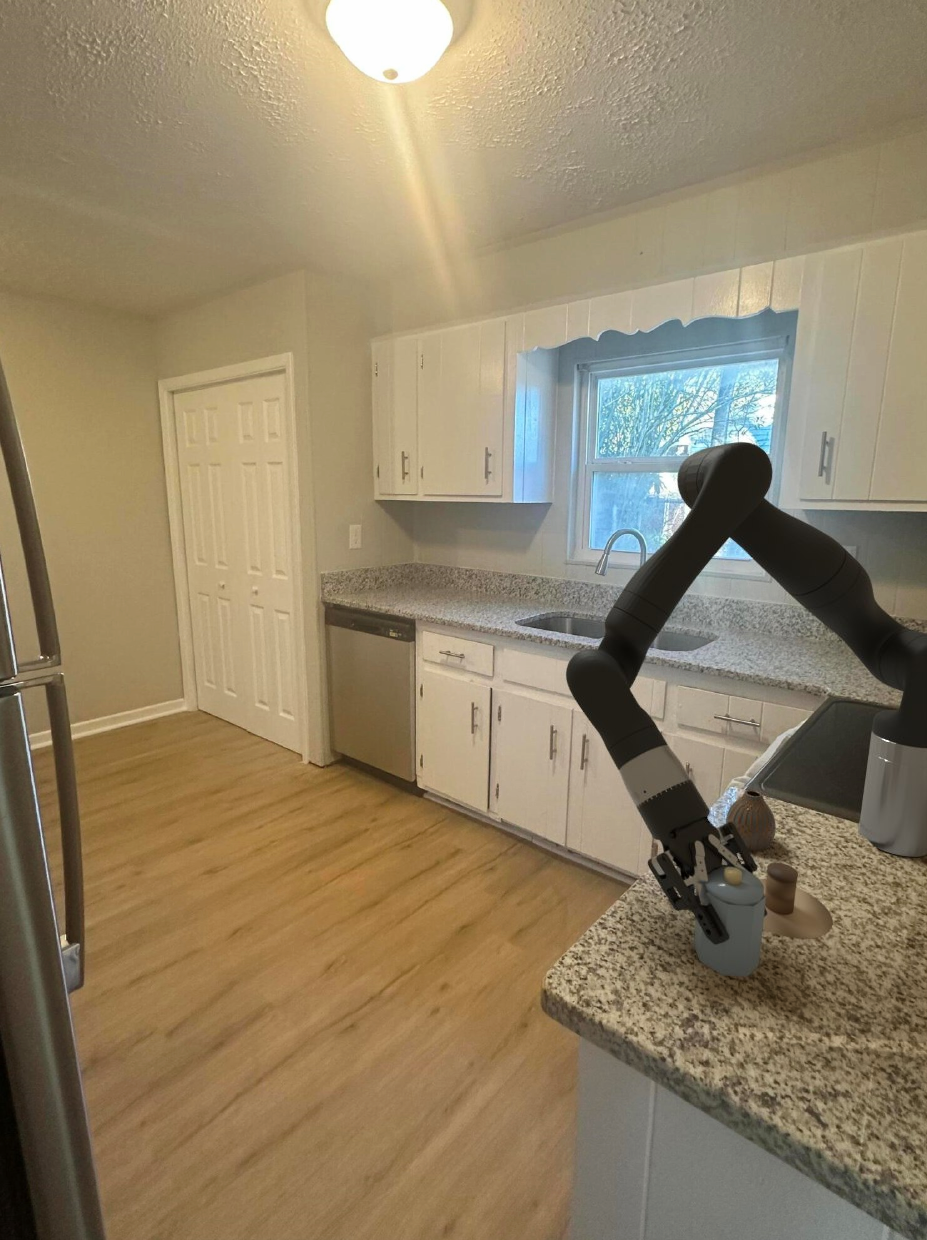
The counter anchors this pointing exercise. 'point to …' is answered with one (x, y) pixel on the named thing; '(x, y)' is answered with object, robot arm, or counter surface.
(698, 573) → the robot arm
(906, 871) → the counter surface
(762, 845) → the vase
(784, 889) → the spice jar
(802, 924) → the trivet
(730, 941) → the octagonal knobbed canister
